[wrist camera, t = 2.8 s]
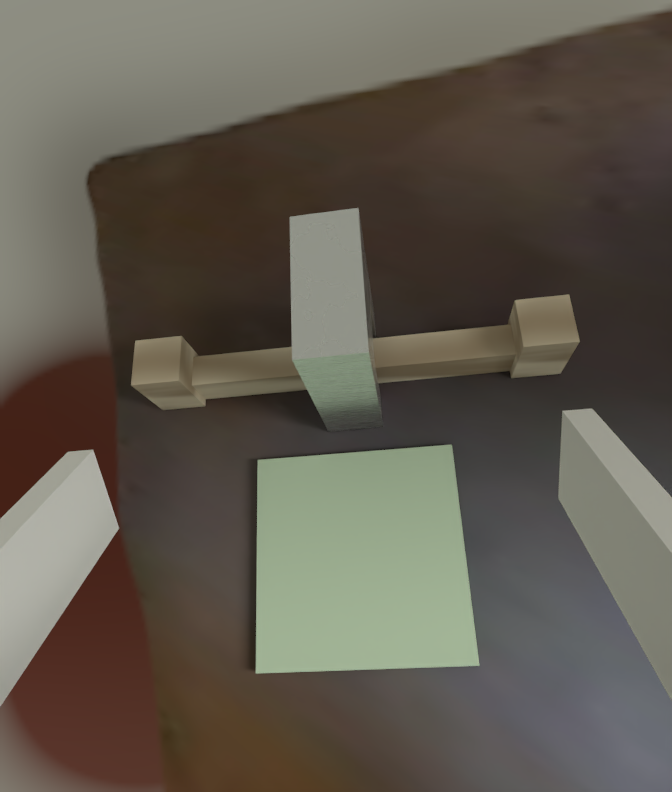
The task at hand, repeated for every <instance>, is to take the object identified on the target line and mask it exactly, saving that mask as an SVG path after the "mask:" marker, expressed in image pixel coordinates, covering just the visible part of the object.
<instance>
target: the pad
mask: <svg viewBox="0 0 672 792" xmlns="http://www.w3.org/2000/svg"><path fill="white" fill-rule="evenodd" d="M455 666H479V659H478V651H477V643H476V635H475V627H474V619H473V611H472V603H471V595H470V587H469V578H468V570H467V562H466V554H465V546H464V538H463V530H462V522H461V514H460V506H459V498H458V490H457V482H456V474H455V466H454V458H453V450H452V445H440V446H427V447H415V448H402V449H390V450H377V451H364V452H352V453H339V454H327V455H314V456H301V457H289V458H276V459H263V460H258V469H257V587H256V673H282V672H311V671H340V670H368V669H397V668H426V667H455Z"/></svg>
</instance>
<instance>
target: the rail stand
mask: <svg viewBox="0 0 672 792" xmlns="http://www.w3.org/2000/svg"><path fill="white" fill-rule="evenodd" d="M579 342H580V340H579V336H578V331H577V327H576V322H575V318H574V314H573V309H572V305H571V301H570V296H569V294H568V295H559V296H549V297H540V298H531V299H521V300H515V302H514V305H513V308H512V311H511V314H510V318H509V321H508V324H507V325H500V326H490V327H481V328H471V329H461V330H451V331H442V332H432V333H422V334H412V335H402V336H393V337H383V338H373V346H374V360H375V367H376V372H377V378H378V383H387V382H397V381H408V380H419V379H430V378H440V377H451V376H462V375H473V374H483V373H494V372H505V371H510V375H511V378H520V377H531V376H542V375H552V374H561V372H562V370H563V369H564V367H565V365H566V364H567V362H568V360H569V359H570V357H571V355H572V354H573V352H574V350H575V349H576V347H577V346H578V344H579ZM131 386H132V387H134V388H135V389H136V390H138V391H139V392H140V393H141V394H143V395H144V396H145V397H147V398H148V399H149V400H150V401H152V402H153V403H154V404H156V405H157V406H158V407H159V408H161V409H162V410H170V409H181V408H192V407H203V406H206V399H214V398H225V397H236V396H247V395H257V394H268V393H279V392H290V391H300V390H307V389H306V387H305V385H304V383H303V381H302V379H301V377H300V375H299V373H298V371H297V369H296V367H295V365H294V363H293V361H292V347H285V348H275V349H265V350H256V351H246V352H236V353H226V354H217V355H207V356H199V355H198V354H197V353H196V352H195V351H194V350H193V348H192V347H191V346H190V345H189V344H188V343H187V342H186V340H185V339H184V338H183V337H182V336H175V337H166V338H157V339H147V340H138V341H135V349H134V359H133V369H132V379H131Z"/></svg>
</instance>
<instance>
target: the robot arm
mask: <svg viewBox="0 0 672 792" xmlns="http://www.w3.org/2000/svg"><path fill="white" fill-rule="evenodd" d="M558 498H559V500H560V502H561V504H562V506H563V507H564V509H565V511H566V513H567V515H568V516H569V518H570V520H571V522H572V524H573V525H574V527H575V529H576V531H577V532H578V534H579V536H580V538H581V540H582V541H583V543H584V545H585V547H586V549H587V550H588V552H589V554H590V556H591V557H592V559H593V561H594V563H595V565H596V566H597V568H598V570H599V572H600V574H601V575H602V577H603V579H604V581H605V582H606V584H607V586H608V588H609V590H610V591H611V593H612V595H613V597H614V599H615V600H616V602H617V604H618V606H619V607H620V609H621V611H622V613H623V615H624V616H625V618H626V620H627V622H628V624H629V625H630V627H631V629H632V631H633V633H634V634H635V636H636V638H637V640H638V641H639V643H640V645H641V647H642V649H643V650H644V652H645V654H646V656H647V658H648V659H649V661H650V663H651V665H652V666H653V668H654V670H655V672H656V674H657V675H658V677H659V679H660V681H661V683H662V684H663V686H664V688H665V690H666V691H667V693H668V695H669V697H670V699H671V700H672V497H671V496H670V495H669V494H668V493H667V492H666V491H665V489H664V488H663V487H662V486H661V485H660V484H659V483H658V482H657V480H656V479H655V478H654V477H653V476H652V475H651V474H650V473H649V472H648V470H647V469H646V468H645V467H644V466H643V465H642V464H641V463H640V461H639V460H638V459H637V458H636V457H635V456H634V455H633V454H632V452H631V451H630V450H629V449H628V448H627V447H626V446H625V445H624V444H623V442H622V441H621V440H620V439H619V438H618V437H617V436H616V435H615V433H614V432H613V431H612V430H611V429H610V428H609V427H608V426H607V424H606V423H605V422H604V421H603V420H602V419H601V418H600V417H599V416H598V414H597V413H596V412H595V411H594V410H593V409H592V408H591V409H579V410H567V411H562V429H561V451H560V472H559V493H558ZM118 529H119V527H118V523H117V520H116V517H115V514H114V511H113V508H112V505H111V502H110V499H109V496H108V493H107V490H106V487H105V484H104V481H103V478H102V475H101V472H100V470H99V466H98V463H97V460H96V457H95V454H94V451H93V450H84V451H72V452H67V453H66V454H65V455H64V456H63V457H62V458H61V459H60V460H59V461H58V462H57V463H56V464H55V465H54V466H53V467H52V468H51V469H50V470H49V471H48V472H47V473H46V474H45V475H44V476H43V477H42V478H41V479H40V480H39V481H38V482H37V483H36V484H35V485H34V486H33V487H32V488H31V489H30V490H29V491H28V492H27V493H26V494H25V495H24V496H23V497H22V498H21V499H20V500H19V501H18V502H17V503H16V504H15V505H14V506H13V507H12V508H11V509H10V510H9V511H8V512H7V513H6V514H5V515H4V516H3V517H2V518H1V519H0V706H1V705H2V703H3V702H4V700H5V699H6V697H7V696H8V694H9V693H10V691H11V690H12V688H13V687H14V685H15V684H16V682H17V681H18V679H19V678H20V676H21V675H22V673H23V672H24V670H25V668H26V667H27V666H28V664H29V663H30V661H31V660H32V658H33V657H34V655H35V654H36V652H37V651H38V649H39V648H40V646H41V645H42V643H43V642H44V640H45V639H46V637H47V636H48V634H49V633H50V631H51V629H52V628H53V627H54V625H55V624H56V622H57V621H58V619H59V617H60V616H61V615H62V613H63V612H64V610H65V609H66V607H67V606H68V604H69V603H70V601H71V600H72V598H73V597H74V595H75V594H76V592H77V591H78V589H79V588H80V586H81V585H82V583H83V581H84V580H85V579H86V577H87V575H88V574H89V573H90V571H91V570H92V568H93V567H94V565H95V564H96V562H97V561H98V559H99V558H100V556H101V554H102V553H103V552H104V550H105V549H106V547H107V545H108V544H109V543H110V541H111V540H112V538H113V536H114V535H115V534H116V532H117V531H118Z"/></svg>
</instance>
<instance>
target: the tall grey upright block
mask: <svg viewBox="0 0 672 792" xmlns="http://www.w3.org/2000/svg"><path fill="white" fill-rule="evenodd" d="M290 268H291V331H292V361H293V363H294V365H295V367H296V369H297V371H298V373H299V375H300V377H301V379H302V381H303V383H304V385H305V387H306V389H307V391H308V392H309V394H310V396H311V398H312V400H313V402H314V404H315V406H316V408H317V410H318V412H319V414H320V416H321V418H322V420H323V422H324V424H325V426H326V428H327V430H328V432H330V431H342V430H354V429H366V428H378V427H383V417H382V404H381V395H380V389H379V384H378V378H377V372H376V367H375V360H374V346H373V338H376V328H375V315H374V309H373V302H372V295H371V289H370V282H369V275H368V269H367V262H366V255H365V249H364V242H363V235H362V229H361V222H360V215H359V209H358V208H354V209H346V210H338V211H331V212H323V213H315V214H308V215H300V216H292V217H290Z"/></svg>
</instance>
